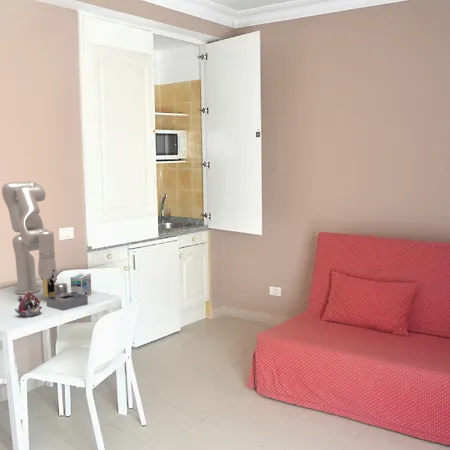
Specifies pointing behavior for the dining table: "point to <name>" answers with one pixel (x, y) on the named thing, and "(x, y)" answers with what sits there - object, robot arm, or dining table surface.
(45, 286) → the square bit
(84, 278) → the light bulb box
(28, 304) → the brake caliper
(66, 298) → the bore block
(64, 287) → the round bit
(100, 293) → the dining table surface
